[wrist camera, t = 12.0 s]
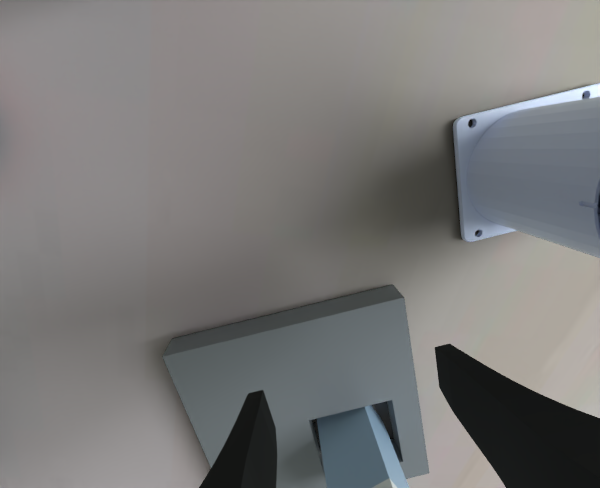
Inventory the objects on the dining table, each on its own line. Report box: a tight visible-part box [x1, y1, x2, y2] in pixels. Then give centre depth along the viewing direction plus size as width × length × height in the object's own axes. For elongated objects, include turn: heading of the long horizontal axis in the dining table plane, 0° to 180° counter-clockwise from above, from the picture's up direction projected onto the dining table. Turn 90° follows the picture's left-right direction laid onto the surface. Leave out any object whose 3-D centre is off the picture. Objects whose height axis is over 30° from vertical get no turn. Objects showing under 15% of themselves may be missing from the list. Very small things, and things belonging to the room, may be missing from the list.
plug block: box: [317, 405, 409, 488], centre depth 21 cm, size 4×4×8 cm
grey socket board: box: [162, 285, 429, 488], centre depth 23 cm, size 16×16×2 cm
